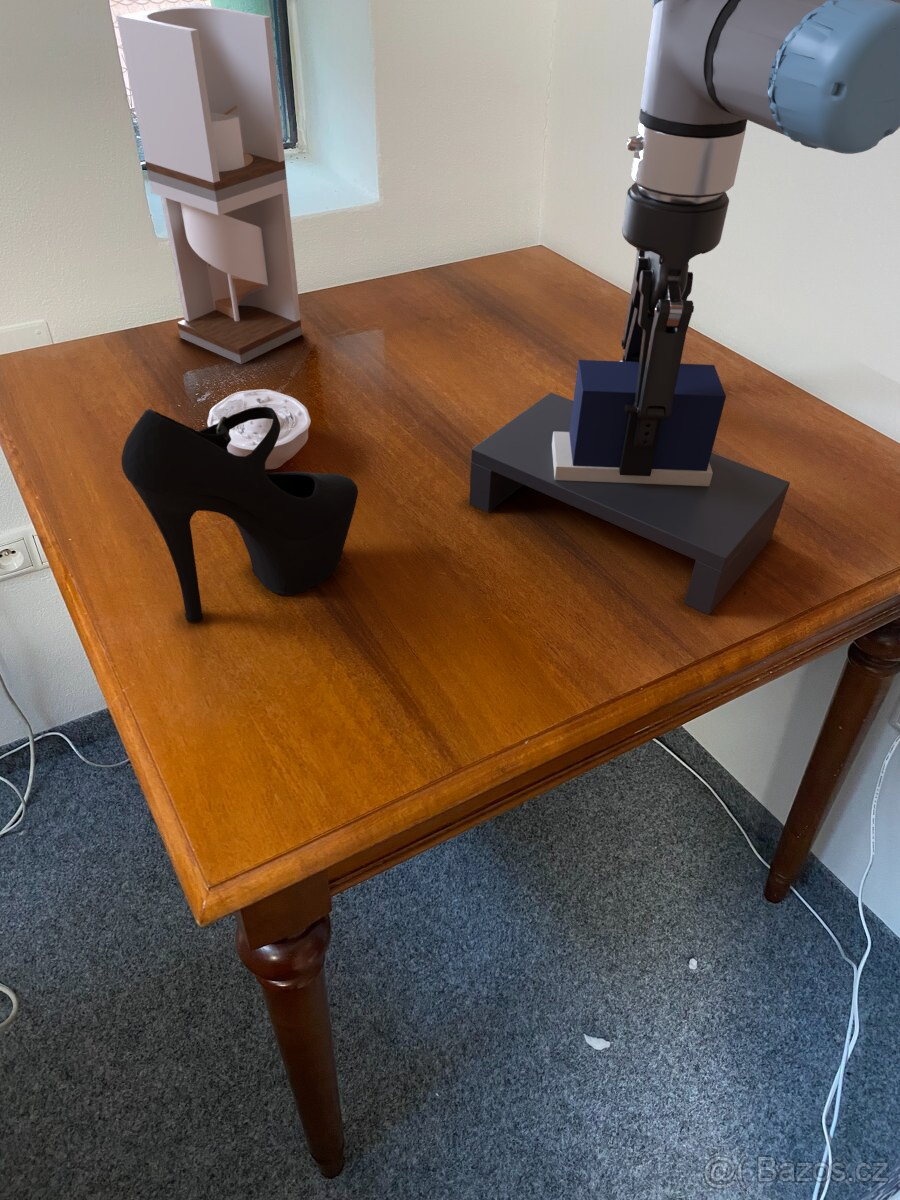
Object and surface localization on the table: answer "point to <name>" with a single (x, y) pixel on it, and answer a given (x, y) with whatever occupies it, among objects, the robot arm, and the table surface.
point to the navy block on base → (604, 422)
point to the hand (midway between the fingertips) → (630, 452)
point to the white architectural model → (217, 171)
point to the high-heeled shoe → (238, 501)
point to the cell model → (264, 424)
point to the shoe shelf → (640, 499)
